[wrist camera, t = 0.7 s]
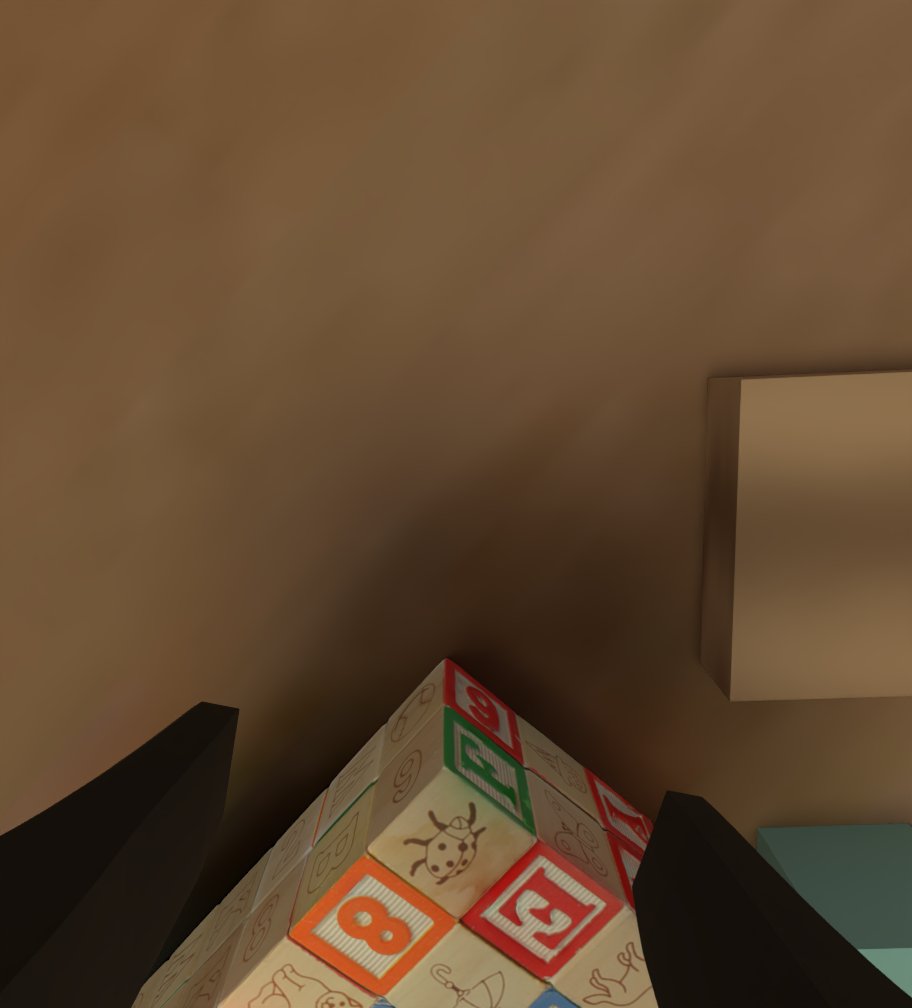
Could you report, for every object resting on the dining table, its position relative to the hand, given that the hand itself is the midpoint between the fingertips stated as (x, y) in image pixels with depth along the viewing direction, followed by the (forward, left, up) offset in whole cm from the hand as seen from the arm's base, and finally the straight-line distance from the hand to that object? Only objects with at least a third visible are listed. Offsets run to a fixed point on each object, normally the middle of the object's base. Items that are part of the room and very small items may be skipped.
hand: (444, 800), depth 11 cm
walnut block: (+2, -12, -11) cm, 17 cm away
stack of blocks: (-10, +8, -8) cm, 14 cm away
